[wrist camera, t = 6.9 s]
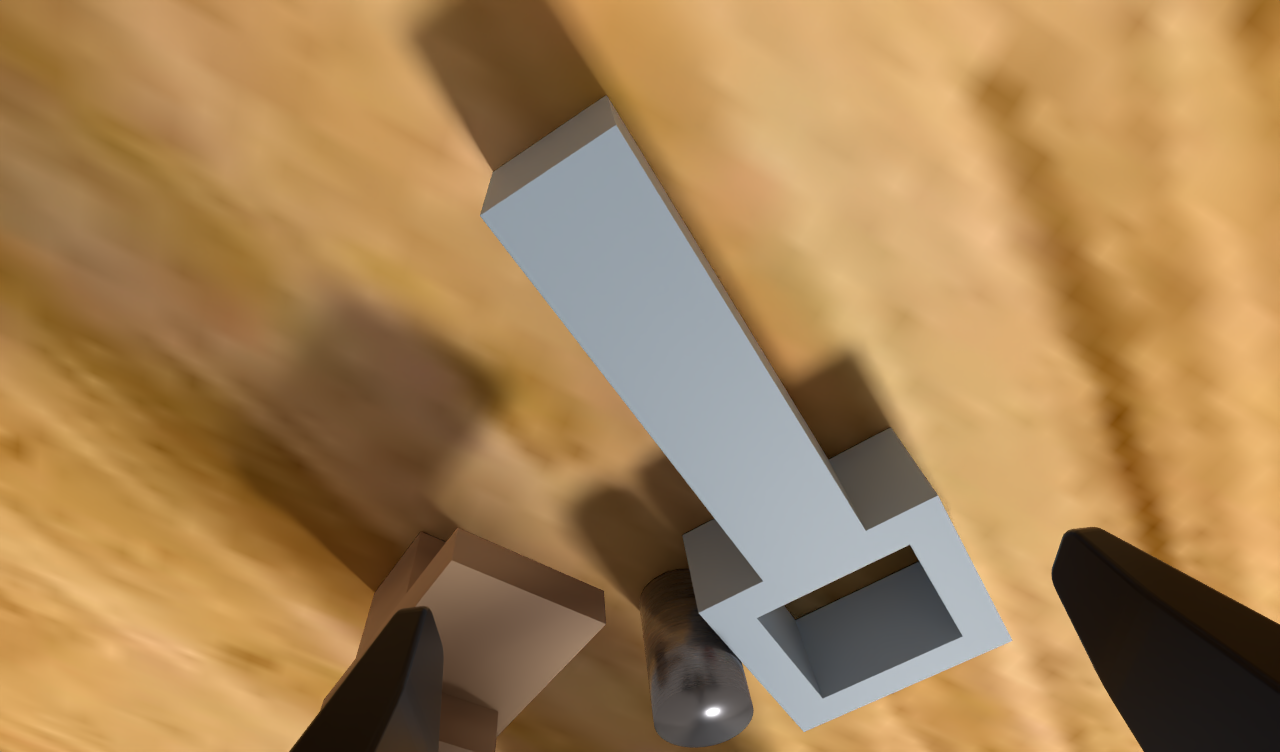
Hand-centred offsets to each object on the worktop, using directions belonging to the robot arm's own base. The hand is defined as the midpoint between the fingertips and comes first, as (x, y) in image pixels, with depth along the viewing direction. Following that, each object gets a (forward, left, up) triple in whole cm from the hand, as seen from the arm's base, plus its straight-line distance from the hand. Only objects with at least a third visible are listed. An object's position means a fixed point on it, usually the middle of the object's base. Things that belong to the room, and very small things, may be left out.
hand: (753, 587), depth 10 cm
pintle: (-11, 0, -9) cm, 14 cm away
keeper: (-7, +6, -9) cm, 13 cm away
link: (-4, -2, -9) cm, 10 cm away
